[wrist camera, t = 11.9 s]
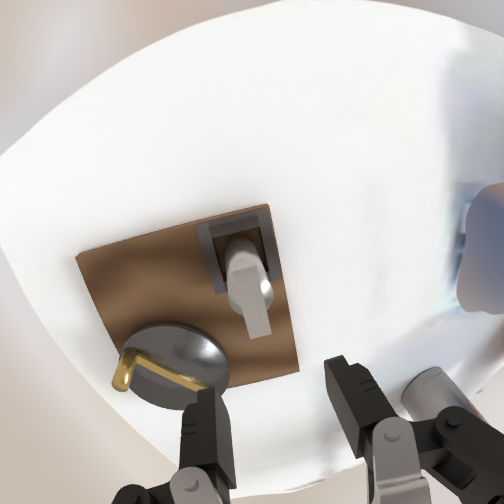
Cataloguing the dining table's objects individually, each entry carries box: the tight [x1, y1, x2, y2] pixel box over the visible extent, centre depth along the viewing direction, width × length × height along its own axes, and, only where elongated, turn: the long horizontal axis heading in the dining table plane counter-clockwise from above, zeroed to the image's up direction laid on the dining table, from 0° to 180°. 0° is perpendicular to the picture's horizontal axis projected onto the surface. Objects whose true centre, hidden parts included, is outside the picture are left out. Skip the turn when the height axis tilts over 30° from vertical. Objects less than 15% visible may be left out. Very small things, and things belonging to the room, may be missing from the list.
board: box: [75, 204, 300, 389], centre depth 29 cm, size 20×20×3 cm
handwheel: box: [112, 321, 230, 410], centre depth 27 cm, size 12×12×6 cm
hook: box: [224, 233, 273, 339], centre depth 22 cm, size 5×3×11 cm, turn 12°
